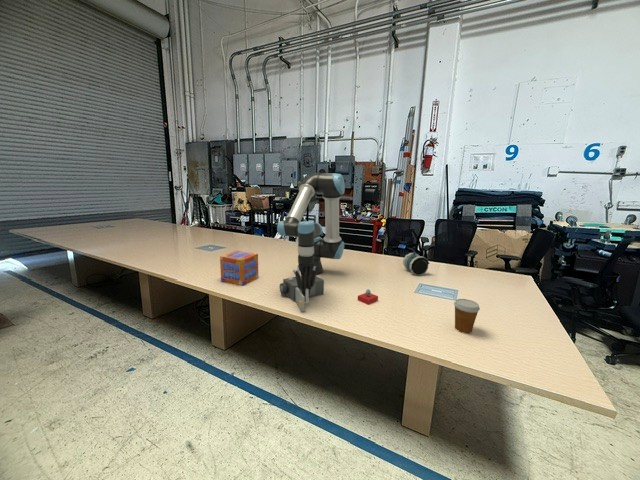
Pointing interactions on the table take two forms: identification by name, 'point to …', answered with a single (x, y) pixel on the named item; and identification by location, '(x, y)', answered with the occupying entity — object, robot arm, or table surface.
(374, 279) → the table surface
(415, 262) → the gadget
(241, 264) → the game box
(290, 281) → the camera body
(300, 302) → the side door
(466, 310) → the disposable coffee cup
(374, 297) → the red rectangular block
